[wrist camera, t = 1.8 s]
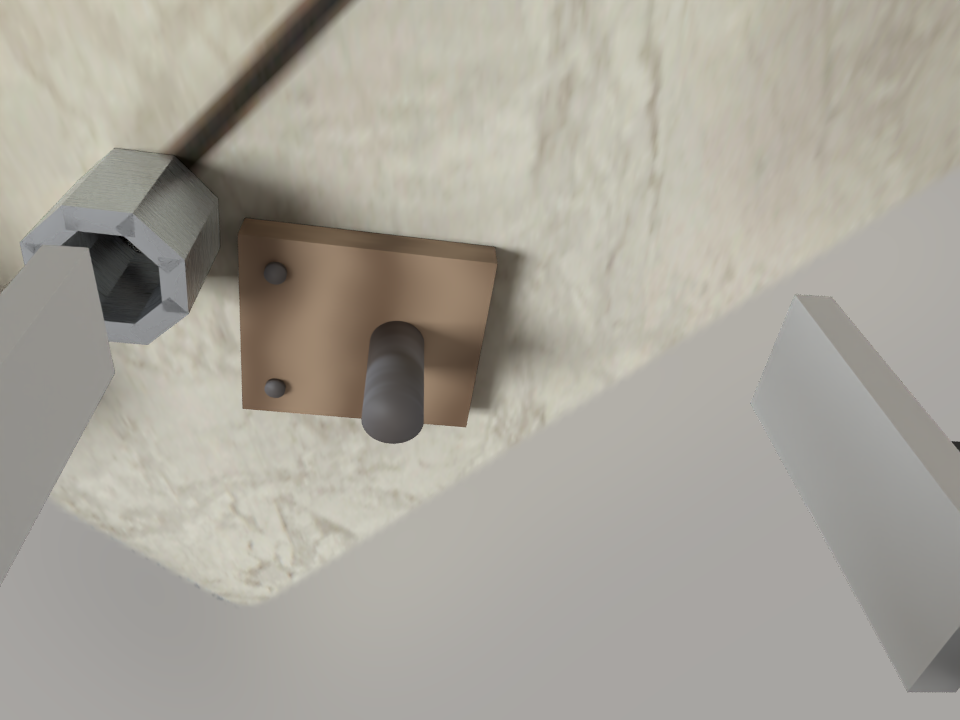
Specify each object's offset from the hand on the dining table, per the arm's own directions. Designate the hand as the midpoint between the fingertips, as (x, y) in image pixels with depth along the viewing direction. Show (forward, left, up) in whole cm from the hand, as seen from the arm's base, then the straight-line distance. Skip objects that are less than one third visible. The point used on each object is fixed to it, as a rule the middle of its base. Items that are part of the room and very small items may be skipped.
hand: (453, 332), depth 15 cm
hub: (-14, -12, -27) cm, 33 cm away
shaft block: (-2, -18, -27) cm, 32 cm away
